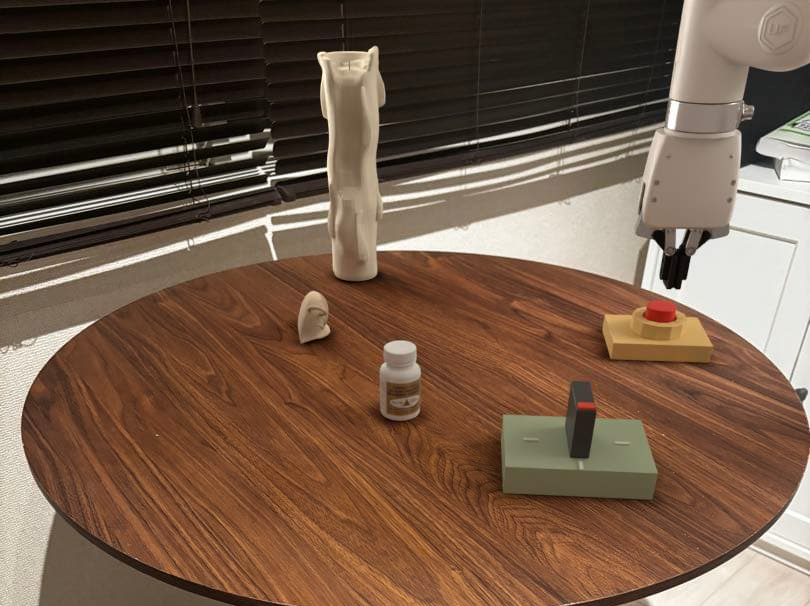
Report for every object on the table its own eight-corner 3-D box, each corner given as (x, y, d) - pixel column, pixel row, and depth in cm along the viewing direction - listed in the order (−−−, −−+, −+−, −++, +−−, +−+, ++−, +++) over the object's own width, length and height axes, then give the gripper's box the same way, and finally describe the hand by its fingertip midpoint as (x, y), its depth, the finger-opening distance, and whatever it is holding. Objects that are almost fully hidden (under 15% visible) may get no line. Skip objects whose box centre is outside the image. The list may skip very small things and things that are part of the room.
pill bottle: (389, 425, 87) (389, 358, 82) (374, 407, 90) (372, 342, 86) (426, 417, 89) (428, 351, 84) (410, 399, 92) (410, 335, 87)
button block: (693, 333, 107) (700, 303, 104) (709, 363, 100) (716, 332, 97) (602, 330, 107) (606, 300, 105) (610, 359, 100) (616, 328, 98)
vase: (392, 270, 125) (391, 44, 107) (371, 289, 119) (365, 52, 100) (342, 263, 127) (332, 41, 109) (318, 281, 121) (303, 48, 103)
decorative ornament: (328, 321, 109) (326, 282, 106) (331, 347, 103) (329, 306, 100) (298, 322, 109) (295, 283, 106) (299, 348, 102) (296, 307, 99)
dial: (564, 425, 81) (571, 378, 78) (582, 426, 81) (590, 379, 78) (569, 457, 76) (577, 408, 73) (589, 458, 76) (597, 409, 73)
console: (635, 444, 84) (641, 417, 82) (652, 500, 76) (658, 472, 74) (500, 439, 85) (503, 412, 83) (503, 493, 77) (505, 465, 75)
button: (671, 314, 103) (673, 300, 102) (676, 325, 100) (679, 311, 99) (642, 313, 103) (644, 299, 102) (646, 324, 100) (649, 310, 99)
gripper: (763, 111, 90) (726, 275, 101) (626, 112, 91) (605, 275, 102) (783, 123, 84) (742, 297, 95) (636, 124, 85) (612, 296, 96)
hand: (671, 285), depth 98 cm, fingers closed
